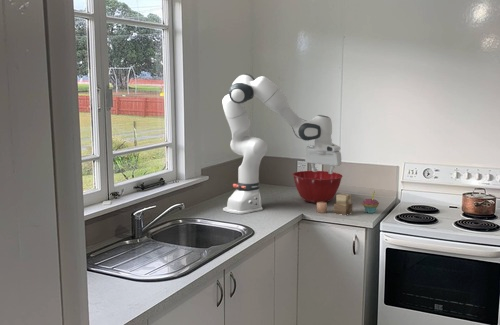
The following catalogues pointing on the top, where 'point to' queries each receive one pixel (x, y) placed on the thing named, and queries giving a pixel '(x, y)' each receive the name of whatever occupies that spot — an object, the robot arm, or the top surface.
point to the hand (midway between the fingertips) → (322, 172)
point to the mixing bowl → (317, 185)
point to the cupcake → (370, 204)
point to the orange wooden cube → (321, 207)
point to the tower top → (343, 199)
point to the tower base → (343, 209)
